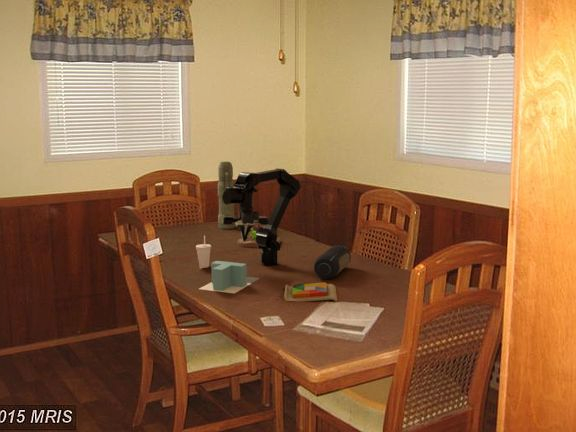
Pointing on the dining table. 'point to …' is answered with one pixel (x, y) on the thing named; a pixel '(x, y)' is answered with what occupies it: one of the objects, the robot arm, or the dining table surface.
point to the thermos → (224, 181)
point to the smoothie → (203, 254)
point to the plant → (251, 239)
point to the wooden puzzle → (310, 292)
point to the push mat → (232, 288)
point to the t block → (228, 275)
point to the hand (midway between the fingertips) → (244, 241)
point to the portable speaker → (332, 262)
